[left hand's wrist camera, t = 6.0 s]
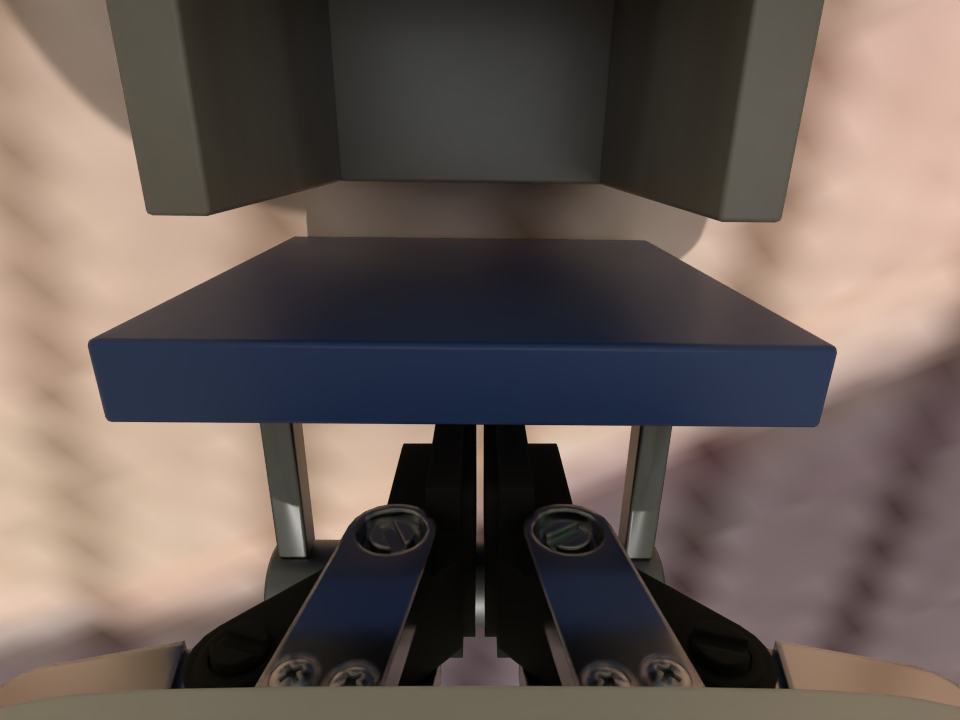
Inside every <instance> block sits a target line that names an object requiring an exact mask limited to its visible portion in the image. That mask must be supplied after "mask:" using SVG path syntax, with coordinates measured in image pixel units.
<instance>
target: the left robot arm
mask: <svg viewBox="0 0 960 720" xmlns="http://www.w3.org/2000/svg"><path fill="white" fill-rule="evenodd" d="M484 596H485V637H497V658H512V659H513V660H514V661H515V662H517V663H518V664H519V684H520V686H440V684H441V664H442V663H444V662H445V661H446V660H447V659H449V658H463V637H475V605H476V424H435V431H434V437H433V443H432V444H403V447H402V450H401V454H400V458H399V462H398V466H397V469H396V473H395V477H394V481H393V485H392V489H391V493H390V496H389V500H388V504H387V505H383V506H378V507H375V508H373V509H370V510H368V511H365V512H364V513H362V514H361V515H359V516H358V517H356V518H355V519H354V521H353V522H352V523H351V524H350V525H349V527H348V528H347V530H346V532H345V533H344V535H343V537H342V539H341V540H340V542H339V544H338V545H337V547H336V549H335V550H334V552H333V554H332V556H331V557H330V559H329V561H328V562H327V564H326V566H325V568H323V569H321V570H320V571H318V572H316V573H314V574H312V575H311V576H309V577H307V578H305V579H303V580H302V581H300V582H298V583H296V584H294V585H293V586H291V587H289V588H287V589H285V590H284V591H282V592H280V593H278V594H276V595H274V596H273V597H271V598H269V599H267V600H265V601H264V602H262V603H260V604H258V605H256V606H255V607H253V608H251V609H249V610H247V611H246V612H244V613H242V614H240V615H238V616H237V617H235V618H233V619H231V620H229V621H228V622H226V623H224V624H222V625H220V626H219V627H217V628H216V629H214V630H213V631H212V632H210V633H209V634H207V635H206V636H204V638H203V639H202V640H201V641H200V642H199V643H198V644H197V645H196V646H195V647H194V648H192V649H187V648H186V644H185V641H180V642H175V643H169V644H164V645H158V646H153V647H147V648H142V649H136V650H130V651H125V652H119V653H114V654H108V655H103V656H97V657H92V658H86V659H81V660H75V661H70V662H64V663H59V664H53V665H48V666H44V667H41V668H37V669H34V670H31V671H27V672H25V673H23V674H21V675H19V676H17V677H15V678H13V679H11V680H9V681H7V682H6V683H4V684H2V685H1V686H0V720H960V686H959V685H958V684H956V683H954V682H953V681H951V680H949V679H947V678H945V677H943V676H941V675H939V674H937V673H935V672H933V671H929V670H926V669H923V668H919V667H916V666H912V665H907V664H901V663H896V662H890V661H885V660H879V659H874V658H868V657H863V656H857V655H852V654H846V653H841V652H835V651H830V650H824V649H819V648H813V647H807V646H802V645H796V644H791V643H785V642H780V641H775V644H774V648H773V649H768V648H766V647H765V646H764V645H763V644H762V643H761V642H760V641H759V640H758V638H757V637H756V636H754V635H753V634H751V633H750V632H749V631H747V630H746V629H744V628H743V627H741V626H740V625H738V624H736V623H734V622H732V621H731V620H729V619H727V618H725V617H723V616H722V615H720V614H718V613H716V612H714V611H713V610H711V609H709V608H707V607H705V606H704V605H702V604H700V603H698V602H696V601H695V600H693V599H691V598H689V597H687V596H686V595H684V594H682V593H680V592H678V591H677V590H675V589H673V588H671V587H669V586H668V585H666V584H664V583H662V582H660V581H659V580H657V579H655V578H653V577H651V576H650V575H648V574H646V573H644V572H642V571H641V570H639V569H637V568H635V566H634V564H633V562H632V561H631V559H630V557H629V556H628V554H627V552H626V550H625V549H624V547H623V545H622V544H621V542H620V540H619V539H618V537H617V535H616V533H615V532H614V530H613V528H612V527H611V525H610V524H609V523H608V522H607V521H606V519H605V518H604V517H602V516H601V515H599V514H598V513H596V512H595V511H592V510H590V509H587V508H585V507H582V506H577V505H573V504H572V500H571V496H570V492H569V488H568V485H567V481H566V477H565V473H564V469H563V465H562V461H561V458H560V454H559V450H558V446H557V444H528V442H527V436H526V430H525V425H484Z"/></svg>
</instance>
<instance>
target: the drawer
mask: <svg viewBox="0 0 960 720" xmlns="http://www.w3.org/2000/svg"><path fill="white" fill-rule="evenodd" d="M106 4H107V9H108V14H109V19H110V24H111V30H112V35H113V40H114V45H115V50H116V56H117V61H118V66H119V71H120V76H121V81H122V87H123V92H124V97H125V102H126V107H127V113H128V118H129V123H130V128H131V133H132V139H133V144H134V149H135V154H136V159H137V165H138V170H139V175H140V180H141V185H142V191H143V196H144V201H145V206H146V211H147V213H148V214H151V215H174V216H209V215H213V214H216V213H220V212H224V211H228V210H232V209H235V208H239V207H243V206H247V205H251V204H254V203H258V202H262V201H266V200H270V199H273V198H277V197H281V196H285V195H289V194H292V193H296V192H300V191H304V190H308V189H311V188H315V187H319V186H323V185H327V184H330V183H334V182H338V181H378V182H459V183H540V184H602V185H605V186H608V187H612V188H615V189H618V190H621V191H624V192H628V193H631V194H634V195H637V196H640V197H644V198H647V199H650V200H653V201H657V202H660V203H663V204H666V205H669V206H673V207H676V208H679V209H682V210H686V211H689V212H692V213H695V214H698V215H702V216H705V217H708V218H711V219H714V220H718V221H721V222H777V221H780V219H781V217H782V212H783V207H784V202H785V197H786V192H787V187H788V182H789V177H790V172H791V167H792V162H793V157H794V152H795V147H796V141H797V136H798V131H799V126H800V121H801V116H802V111H803V106H804V101H805V96H806V91H807V86H808V81H809V76H810V71H811V65H812V60H813V55H814V50H815V45H816V40H817V35H818V30H819V25H820V20H821V15H822V10H823V5H824V0H106ZM88 349H89V353H90V357H91V361H92V365H93V369H94V373H95V377H96V381H97V385H98V389H99V393H100V397H101V401H102V405H103V409H104V413H105V417H106V419H107V420H108V421H111V422H214V423H260V427H261V434H262V442H263V449H264V456H265V463H266V470H267V477H268V484H269V491H270V498H271V505H272V512H273V519H274V526H275V534H276V541H277V546H276V547H275V549H274V551H273V554H272V556H271V559H270V562H269V565H268V569H267V574H266V580H265V588H264V601H265V600H267V599H269V598H271V597H273V596H274V595H276V594H278V593H280V592H282V591H284V590H285V589H287V588H289V587H291V586H293V585H294V584H296V583H298V582H300V581H302V580H303V579H305V578H307V577H309V576H311V575H312V574H314V573H316V572H318V571H320V570H321V569H323V568H325V566H326V564H327V562H328V561H329V559H330V557H331V556H332V554H333V552H334V550H335V549H336V547H337V545H338V544H339V542H340V540H315V536H314V527H313V518H312V509H311V500H310V491H309V482H308V473H307V464H306V455H305V446H304V437H303V428H302V423H345V424H477V425H608V426H632V427H631V436H630V444H629V452H628V461H627V469H626V477H625V485H624V494H623V502H622V510H621V519H620V527H619V535H618V539H619V540H620V542H621V544H622V545H623V547H624V549H625V550H626V552H627V554H628V556H629V557H630V559H631V561H632V562H633V564H634V566H635V568H637V569H639V570H641V571H642V572H644V573H646V574H648V575H650V576H651V577H653V578H655V579H657V580H659V581H660V582H662V583H664V584H665V577H664V572H663V567H662V563H661V560H660V557H659V554H658V552H657V550H656V548H655V547H654V544H655V538H656V531H657V524H658V518H659V511H660V504H661V497H662V491H663V484H664V477H665V471H666V464H667V457H668V451H669V444H670V437H671V430H672V426H739V427H815V426H817V425H818V424H819V422H820V418H821V414H822V410H823V406H824V402H825V398H826V394H827V390H828V386H829V382H830V378H831V374H832V370H833V366H834V362H835V358H836V354H837V350H836V348H835V346H833V345H831V344H829V343H828V342H826V341H824V340H822V339H820V338H819V337H817V336H815V335H813V334H811V333H810V332H808V331H806V330H804V329H803V328H801V327H799V326H797V325H795V324H794V323H792V322H790V321H788V320H787V319H785V318H783V317H781V316H779V315H778V314H776V313H774V312H772V311H770V310H769V309H767V308H765V307H763V306H762V305H760V304H758V303H756V302H754V301H753V300H751V299H749V298H747V297H745V296H744V295H742V294H740V293H738V292H737V291H735V290H733V289H731V288H729V287H728V286H726V285H724V284H722V283H721V282H719V281H717V280H715V279H713V278H712V277H710V276H708V275H706V274H704V273H703V272H701V271H699V270H697V269H696V268H694V267H692V266H690V265H688V264H687V263H685V262H683V261H681V260H679V259H678V258H676V257H674V256H672V255H671V254H669V253H667V252H665V251H663V250H662V249H660V248H658V247H656V246H654V245H653V244H651V243H649V242H647V241H642V240H553V239H464V238H374V237H293V238H291V239H289V240H287V241H285V242H283V243H281V244H279V245H277V246H275V247H273V248H271V249H269V250H267V251H265V252H263V253H261V254H259V255H257V256H255V257H253V258H251V259H249V260H247V261H245V262H243V263H241V264H239V265H237V266H235V267H233V268H231V269H229V270H227V271H225V272H223V273H221V274H219V275H218V276H216V277H214V278H212V279H210V280H208V281H206V282H204V283H202V284H200V285H198V286H196V287H194V288H192V289H190V290H188V291H186V292H184V293H182V294H180V295H178V296H176V297H174V298H172V299H170V300H168V301H166V302H164V303H162V304H160V305H158V306H156V307H154V308H152V309H150V310H148V311H146V312H144V313H142V314H140V315H138V316H136V317H134V318H132V319H130V320H128V321H126V322H124V323H122V324H120V325H118V326H116V327H114V328H112V329H110V330H108V331H106V332H104V333H103V334H101V335H99V336H97V337H95V338H93V339H91V340H89V342H88ZM475 627H485V596H484V541H476V605H475Z"/></svg>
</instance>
